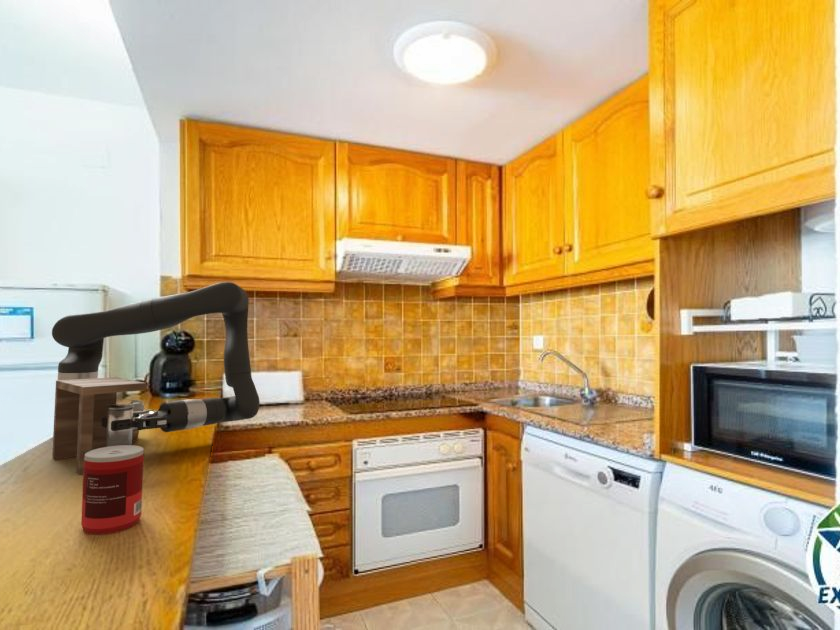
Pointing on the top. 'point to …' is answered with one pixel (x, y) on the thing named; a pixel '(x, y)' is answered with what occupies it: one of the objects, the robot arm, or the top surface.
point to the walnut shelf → (84, 414)
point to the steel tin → (119, 414)
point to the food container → (137, 407)
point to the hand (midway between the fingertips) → (107, 424)
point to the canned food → (112, 488)
